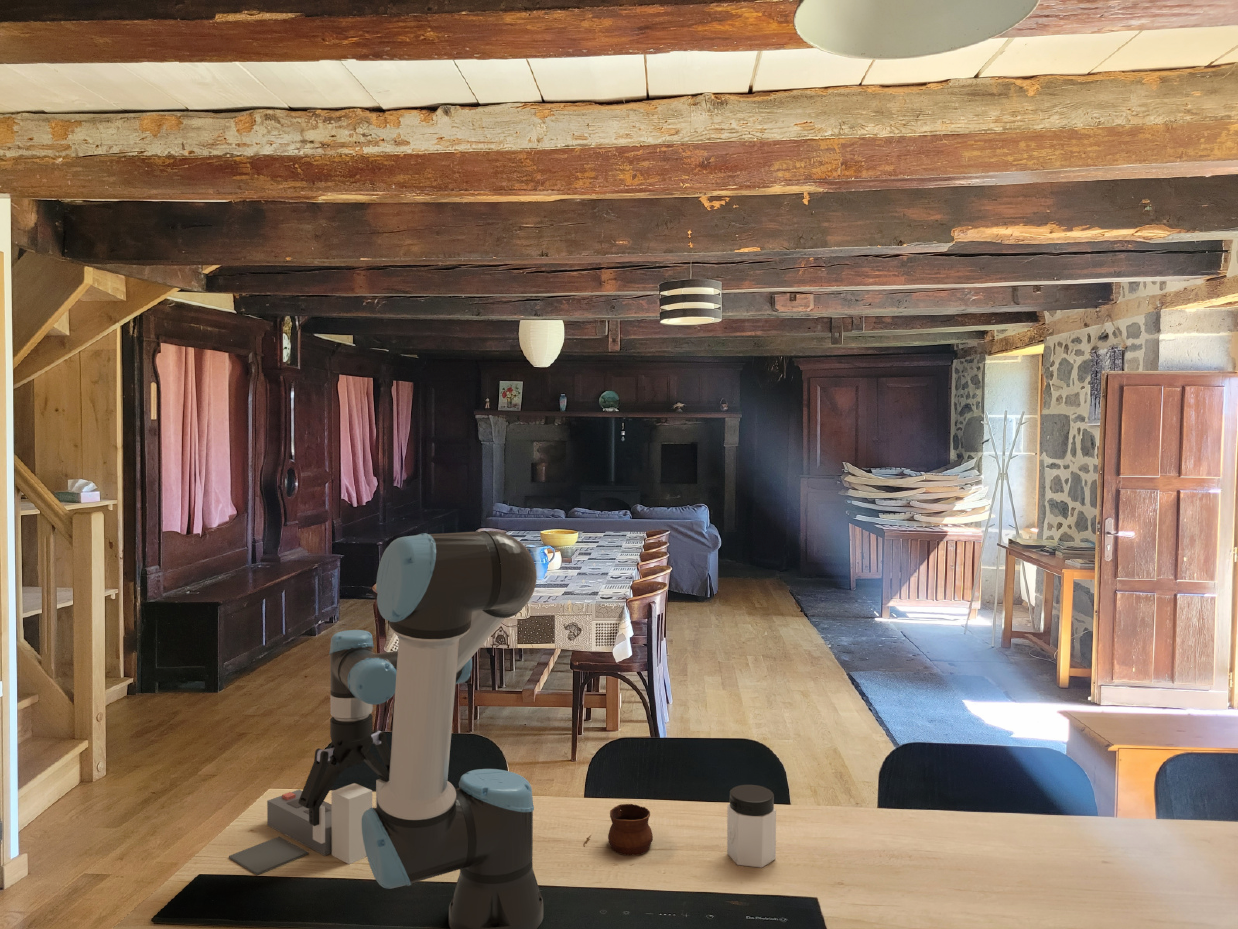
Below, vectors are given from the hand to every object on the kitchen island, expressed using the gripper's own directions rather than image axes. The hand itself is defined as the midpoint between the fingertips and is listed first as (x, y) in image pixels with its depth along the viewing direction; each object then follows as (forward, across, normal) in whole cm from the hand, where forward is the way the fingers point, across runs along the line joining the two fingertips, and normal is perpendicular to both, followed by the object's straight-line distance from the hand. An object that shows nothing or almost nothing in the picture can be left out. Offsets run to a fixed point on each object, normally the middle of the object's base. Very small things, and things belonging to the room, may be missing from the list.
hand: (351, 827), depth 159 cm
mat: (+5, +10, -11) cm, 16 cm away
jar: (+5, -46, +59) cm, 75 cm away
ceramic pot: (+5, -35, +39) cm, 53 cm away
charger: (+5, 0, -1) cm, 5 cm away
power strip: (+5, 0, -13) cm, 14 cm away
